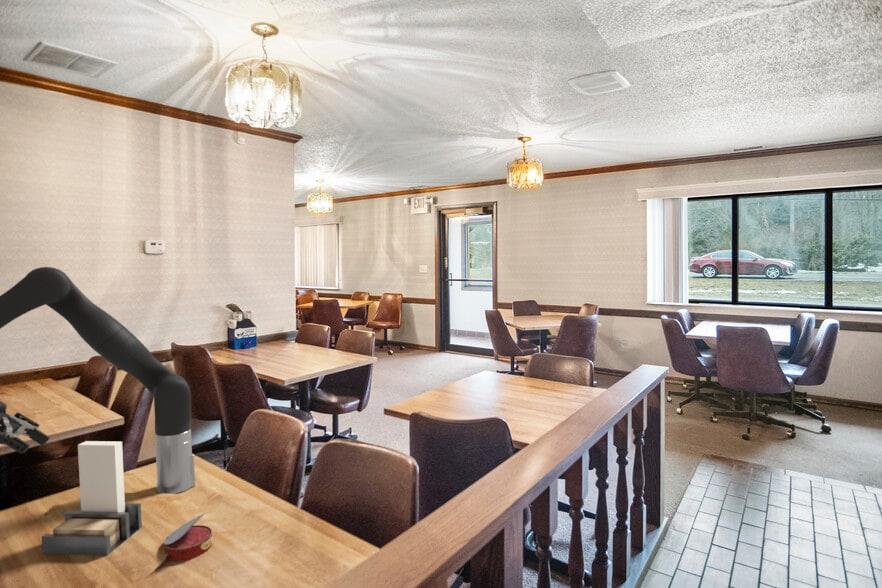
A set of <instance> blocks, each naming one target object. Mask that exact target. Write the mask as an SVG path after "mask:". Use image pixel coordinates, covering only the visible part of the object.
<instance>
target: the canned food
mask: <svg viewBox="0 0 882 588" xmlns="http://www.w3.org/2000/svg"><path fill="white" fill-rule="evenodd" d="M204 515H206V512H205V513H203V514H201V515H198V516H197V517H195V518H193V519H191V520H190V521H188V522H186V523H184V524H182V525H181V526H179V528H177V529H175V530H174V531H173V532H172V533H170V534H169V535H167V537H166V538H165V539H164V542H163V546H164V551H165V552H166V553H167V554H168V555H167V556H166V557H165V558H166V559H167V560H168V561H171V562H183V561H184V562H185V561H188V560H193V559H195V558H198V557H200V556H201V555H204V554H205V553H206V552H208V551H209V550H210V549H211V548H212V546H213V545H212V544H213V538H212V537H213V535H212V529H211V528H210V526H207V525H203V524H202V525H201V524H200V525H198V524H196V523H197V522H199V520H200V519H201V518H202V517H203V516H204Z"/></svg>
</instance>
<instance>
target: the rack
mask: <svg viewBox="0 0 882 588" xmlns="http://www.w3.org/2000/svg"><path fill="white" fill-rule="evenodd" d="M69 518H77V519H119V536H120V540H119V541H118V542H117V543H115V544H114V545H113V546H112V547H110V535H67V534H53V533H45V534H43V535H42V536H41V549H42V550H41V551H42V555H64V556H65V555H67V556H70V555H71V556H73V555H75V556H103V557H104V556H106V557H107V556H109V555H110V554H111V553H113V551H115V550H117V548H119V547H120V546H121V545H122V544H124V542H126V541H127V540H128V539H130V538H131V537H132V536H133V535H134V534H136V533H137V532H139V530H140V529H142V527H143V526H142V524H143V521H142V503H140V502H139V503H138V502H136V503H135V502H134V503H131V502H125V512H84V511H81V502H79V504H78V510H77V511H76V510H75V511H73V510H67V511H65V512H64V518H63V519H64V521H66V520H68V519H69Z"/></svg>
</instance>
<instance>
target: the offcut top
mask: <svg viewBox="0 0 882 588" xmlns="http://www.w3.org/2000/svg"><path fill="white" fill-rule="evenodd" d="M118 530H119V519H77V518H69V519H68V520H66V521H65V520H64V521H63V522H62V523H60V524H58V525H56V526H55V527H54V528H52V534H67V535H110V536H112V535H113V534H114V533H116V532H117V531H118Z"/></svg>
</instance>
